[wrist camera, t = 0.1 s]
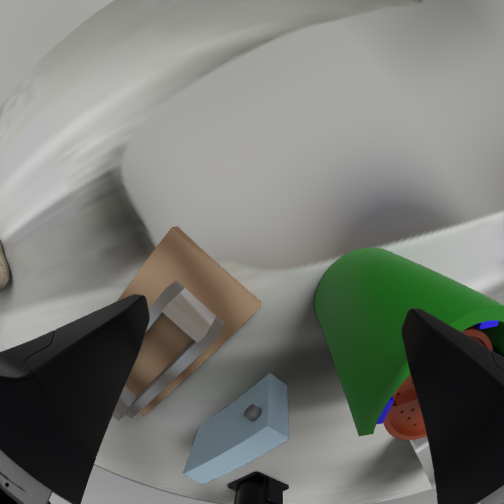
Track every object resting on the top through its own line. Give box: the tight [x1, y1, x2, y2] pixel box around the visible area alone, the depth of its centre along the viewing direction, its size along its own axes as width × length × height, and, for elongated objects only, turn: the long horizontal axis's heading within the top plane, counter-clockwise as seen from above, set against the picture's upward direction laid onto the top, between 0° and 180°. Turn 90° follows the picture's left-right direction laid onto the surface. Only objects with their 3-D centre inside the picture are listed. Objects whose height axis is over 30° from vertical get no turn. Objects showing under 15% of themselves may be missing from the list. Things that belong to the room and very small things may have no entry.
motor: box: [314, 248, 504, 440], centre depth 14 cm, size 10×9×20 cm
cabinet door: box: [183, 373, 290, 484], centre depth 23 cm, size 12×3×8 cm, turn 138°
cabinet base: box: [113, 227, 261, 420], centre depth 23 cm, size 20×10×6 cm, turn 138°
